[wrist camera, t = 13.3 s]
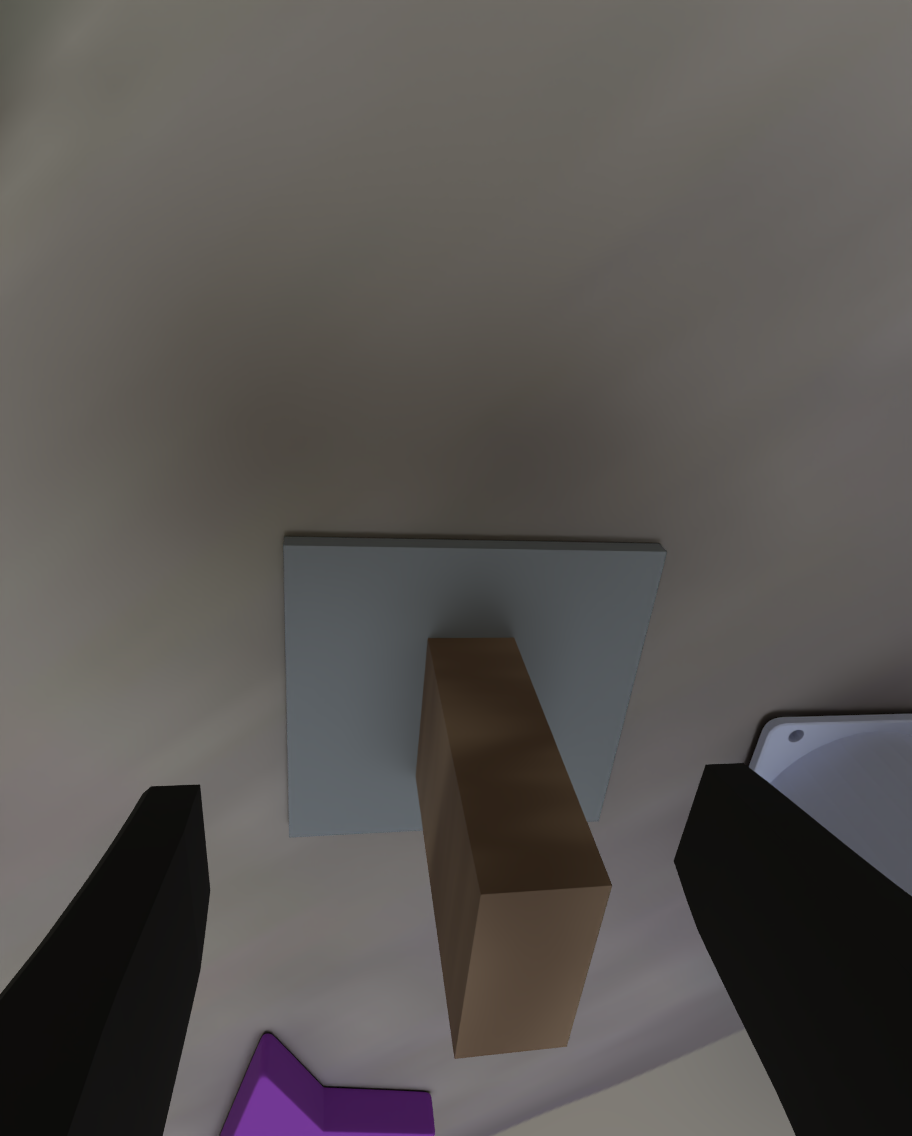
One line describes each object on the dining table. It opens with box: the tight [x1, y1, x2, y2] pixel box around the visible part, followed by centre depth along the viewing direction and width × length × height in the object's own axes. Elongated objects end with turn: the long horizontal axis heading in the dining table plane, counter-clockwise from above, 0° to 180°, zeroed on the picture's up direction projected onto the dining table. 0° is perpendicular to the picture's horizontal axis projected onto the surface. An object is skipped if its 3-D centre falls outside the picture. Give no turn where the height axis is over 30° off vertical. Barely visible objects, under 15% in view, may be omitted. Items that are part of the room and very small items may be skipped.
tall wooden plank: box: [416, 638, 612, 1059], centre depth 17 cm, size 2×5×8 cm, turn 175°
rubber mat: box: [283, 537, 667, 837], centre depth 21 cm, size 10×10×1 cm
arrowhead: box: [220, 1033, 435, 1136], centre depth 29 cm, size 10×2×10 cm
